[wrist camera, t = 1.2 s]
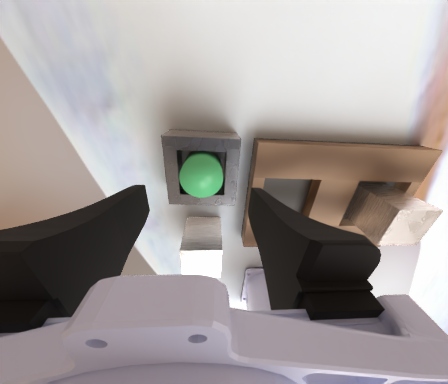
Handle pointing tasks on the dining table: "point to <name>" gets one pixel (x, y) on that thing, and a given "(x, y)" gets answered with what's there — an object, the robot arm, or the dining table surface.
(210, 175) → the button
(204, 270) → the block
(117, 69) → the dining table surface
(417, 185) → the wooden socket board
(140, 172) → the dining table surface
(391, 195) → the block
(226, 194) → the button box
